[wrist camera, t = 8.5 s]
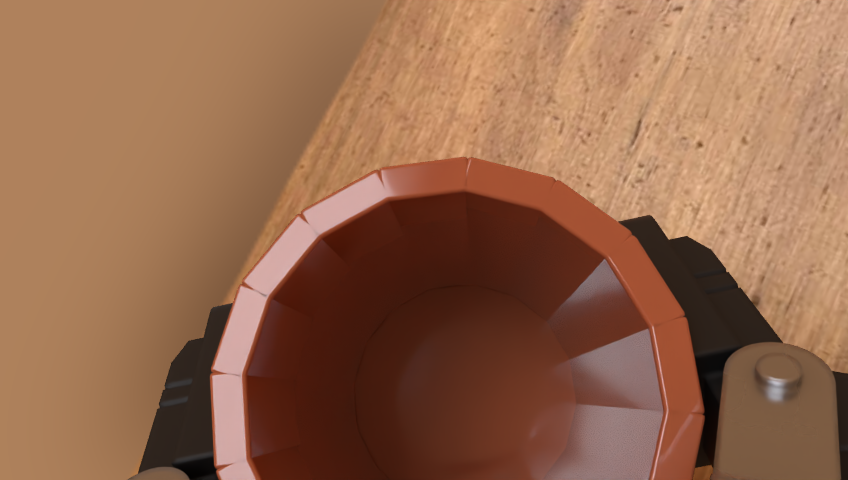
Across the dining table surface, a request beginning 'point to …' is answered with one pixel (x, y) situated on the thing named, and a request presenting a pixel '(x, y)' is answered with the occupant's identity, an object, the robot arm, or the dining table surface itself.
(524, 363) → the pot
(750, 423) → the robot arm
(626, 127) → the dining table surface
